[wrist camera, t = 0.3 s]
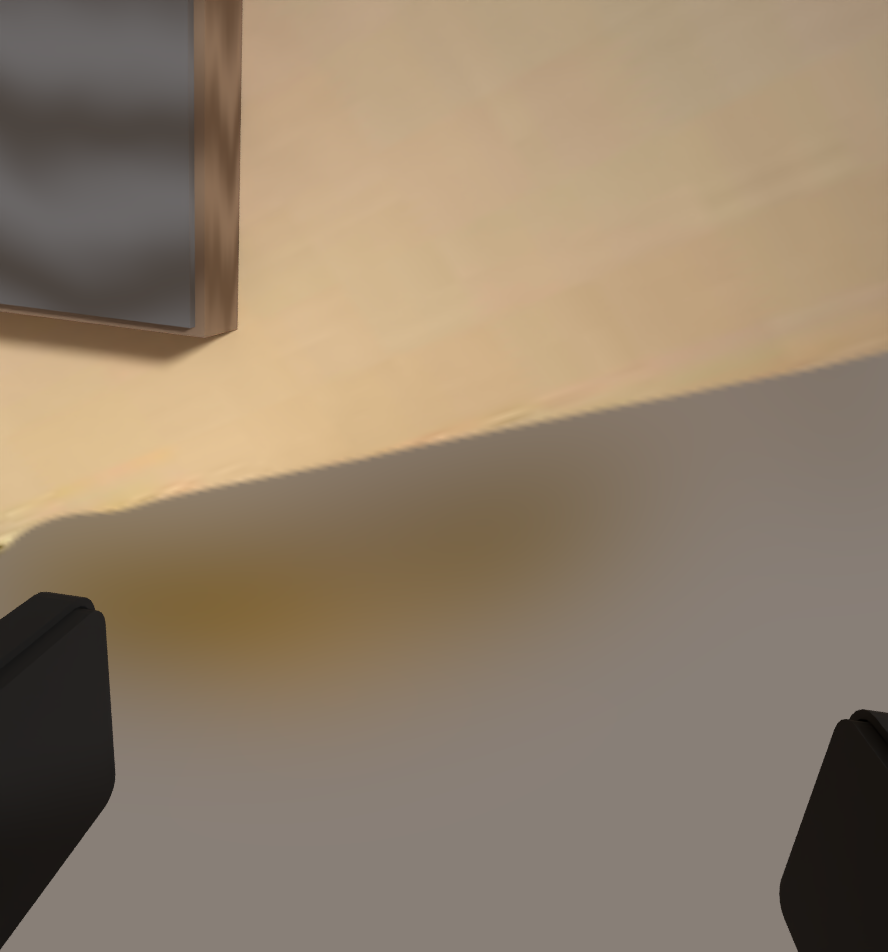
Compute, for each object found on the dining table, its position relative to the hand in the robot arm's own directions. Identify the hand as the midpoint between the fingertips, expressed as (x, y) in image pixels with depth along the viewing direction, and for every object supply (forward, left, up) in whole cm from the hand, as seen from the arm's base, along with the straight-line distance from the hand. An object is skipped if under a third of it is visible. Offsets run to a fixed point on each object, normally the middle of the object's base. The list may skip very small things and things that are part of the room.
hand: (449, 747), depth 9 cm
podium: (-10, -25, -31) cm, 41 cm away
